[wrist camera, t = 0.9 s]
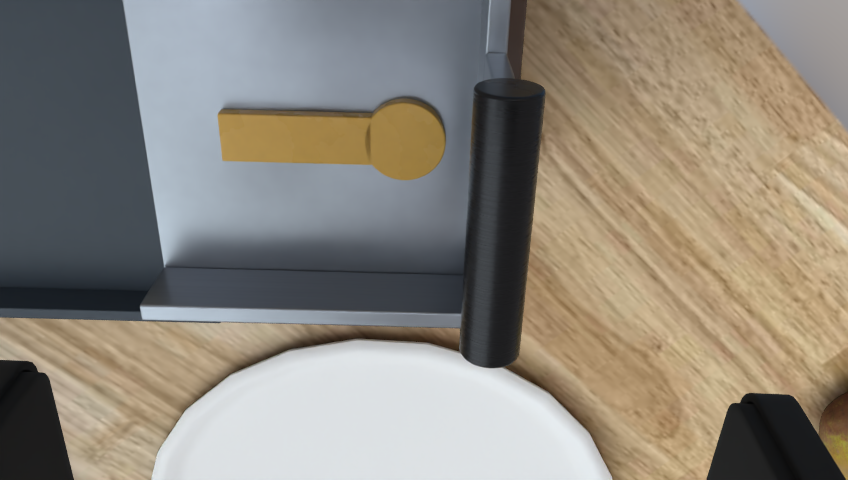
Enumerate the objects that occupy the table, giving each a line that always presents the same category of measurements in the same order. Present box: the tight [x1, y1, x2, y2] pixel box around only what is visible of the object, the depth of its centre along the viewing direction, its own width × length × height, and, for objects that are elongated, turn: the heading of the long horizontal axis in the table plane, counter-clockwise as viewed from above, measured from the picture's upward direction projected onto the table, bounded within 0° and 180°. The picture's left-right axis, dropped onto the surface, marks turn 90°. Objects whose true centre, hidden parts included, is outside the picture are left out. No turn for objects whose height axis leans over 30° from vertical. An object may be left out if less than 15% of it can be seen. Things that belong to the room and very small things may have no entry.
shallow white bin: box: [122, 0, 546, 368], centre depth 21 cm, size 12×11×8 cm
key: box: [217, 98, 446, 180], centre depth 24 cm, size 3×7×1 cm, turn 89°
